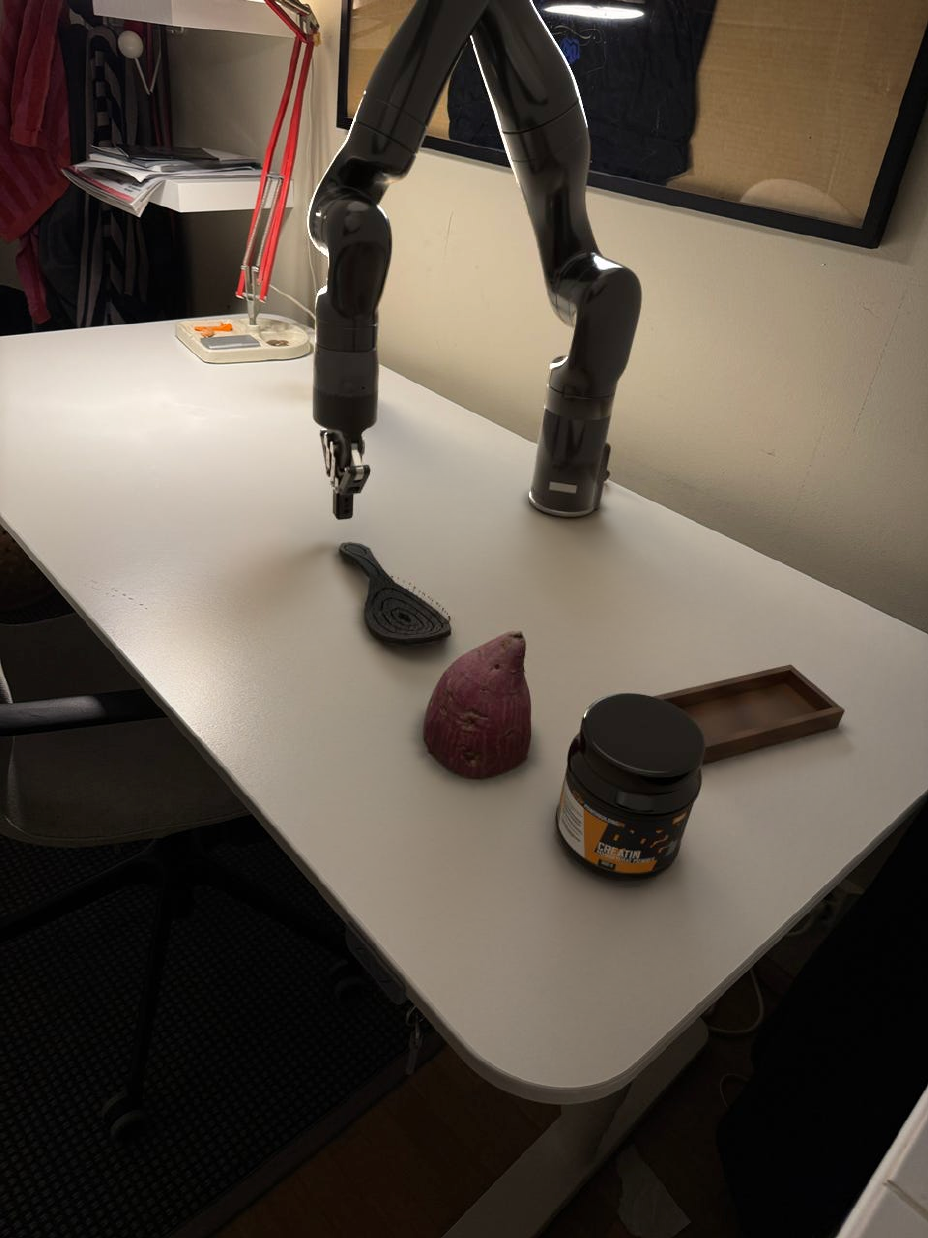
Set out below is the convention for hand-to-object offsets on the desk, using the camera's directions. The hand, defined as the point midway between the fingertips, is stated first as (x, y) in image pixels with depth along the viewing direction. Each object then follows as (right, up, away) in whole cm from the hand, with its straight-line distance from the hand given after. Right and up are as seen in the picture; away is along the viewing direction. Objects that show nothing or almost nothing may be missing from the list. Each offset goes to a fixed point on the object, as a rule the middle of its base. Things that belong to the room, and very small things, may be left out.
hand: (342, 516), depth 111 cm
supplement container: (+28, -32, -37) cm, 56 cm away
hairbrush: (+6, -11, -10) cm, 16 cm away
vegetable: (+16, -24, -28) cm, 41 cm away
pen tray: (+43, -23, -22) cm, 54 cm away
